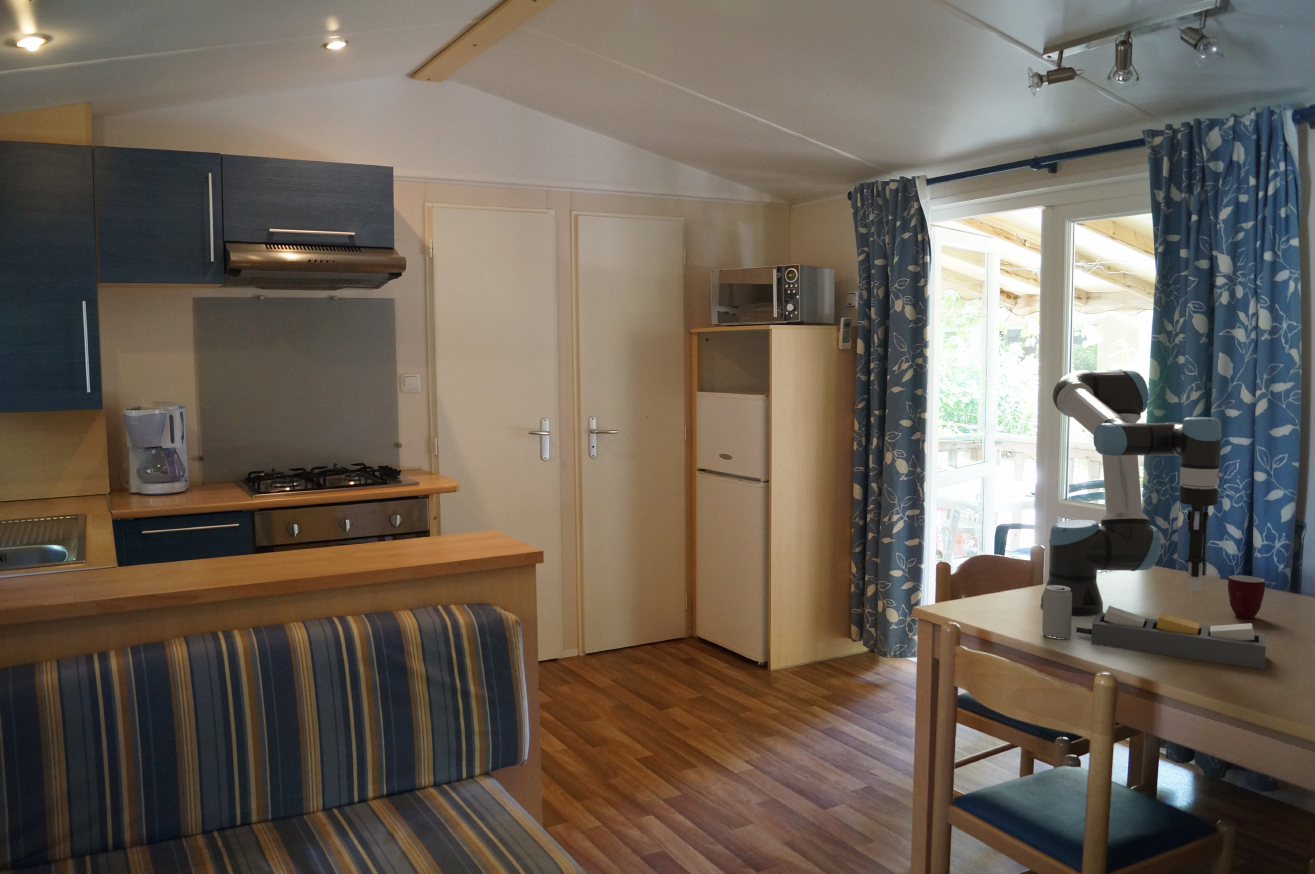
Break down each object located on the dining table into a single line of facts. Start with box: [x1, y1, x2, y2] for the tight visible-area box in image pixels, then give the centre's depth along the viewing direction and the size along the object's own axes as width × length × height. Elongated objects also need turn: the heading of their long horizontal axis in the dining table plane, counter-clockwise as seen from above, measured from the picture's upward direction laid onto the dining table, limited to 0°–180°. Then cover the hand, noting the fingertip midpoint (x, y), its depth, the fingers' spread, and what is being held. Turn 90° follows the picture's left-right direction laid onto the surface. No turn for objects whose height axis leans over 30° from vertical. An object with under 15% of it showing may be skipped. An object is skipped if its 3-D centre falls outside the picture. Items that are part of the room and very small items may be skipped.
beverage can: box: [1041, 585, 1073, 639], centre depth 224 cm, size 6×6×12 cm
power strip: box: [1075, 612, 1267, 670], centre depth 215 cm, size 38×11×5 cm, turn 58°
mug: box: [1227, 574, 1266, 620], centre depth 240 cm, size 11×8×10 cm
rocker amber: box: [1156, 612, 1200, 634], centre depth 214 cm, size 8×5×2 cm, turn 58°
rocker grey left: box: [1104, 605, 1146, 627], centre depth 219 cm, size 8×5×2 cm, turn 58°
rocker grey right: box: [1210, 622, 1255, 640], centre depth 208 cm, size 8×5×2 cm, turn 58°
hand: (1194, 589), depth 211 cm, fingers closed
